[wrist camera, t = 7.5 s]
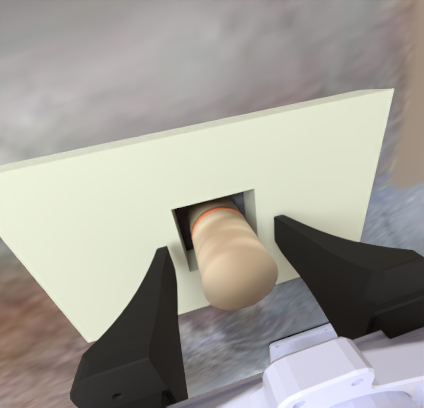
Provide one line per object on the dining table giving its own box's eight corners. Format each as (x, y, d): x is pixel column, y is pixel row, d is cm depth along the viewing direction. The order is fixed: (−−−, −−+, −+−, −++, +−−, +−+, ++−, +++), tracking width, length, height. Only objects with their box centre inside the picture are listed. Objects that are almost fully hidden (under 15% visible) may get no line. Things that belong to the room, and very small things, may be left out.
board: (359, 89, 15) (394, 88, 13) (335, 243, 21) (355, 259, 19) (-8, 166, 12) (-45, 182, 10) (96, 314, 19) (88, 342, 17)
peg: (234, 187, 16) (279, 243, 10) (238, 230, 18) (277, 298, 12) (182, 199, 16) (196, 264, 9) (192, 241, 18) (209, 318, 11)
